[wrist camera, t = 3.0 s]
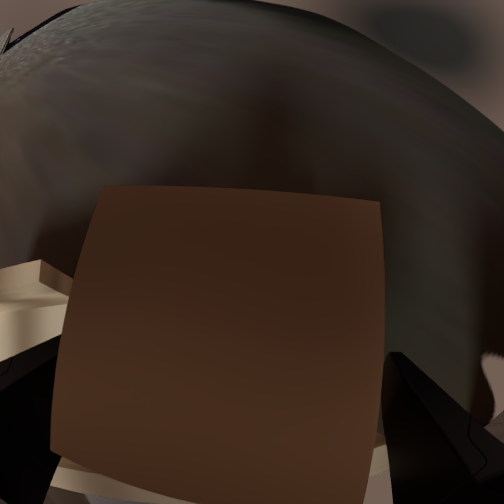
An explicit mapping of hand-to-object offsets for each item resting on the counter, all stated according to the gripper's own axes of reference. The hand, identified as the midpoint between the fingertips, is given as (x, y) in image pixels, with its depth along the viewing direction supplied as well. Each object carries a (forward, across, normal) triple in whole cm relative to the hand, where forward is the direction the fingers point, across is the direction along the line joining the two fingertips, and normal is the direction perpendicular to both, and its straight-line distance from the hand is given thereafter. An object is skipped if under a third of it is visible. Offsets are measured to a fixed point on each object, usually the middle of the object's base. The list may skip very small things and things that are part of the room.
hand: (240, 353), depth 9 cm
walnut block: (+4, 0, +4) cm, 6 cm away
